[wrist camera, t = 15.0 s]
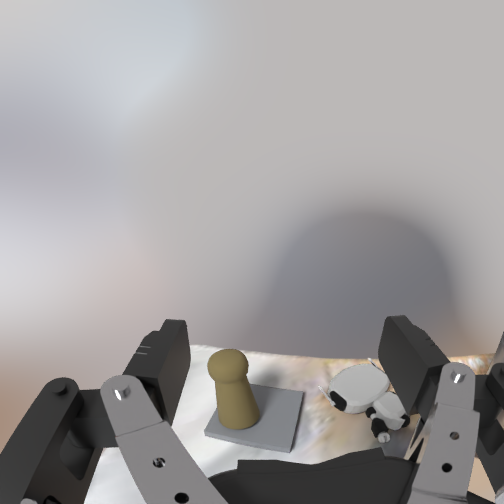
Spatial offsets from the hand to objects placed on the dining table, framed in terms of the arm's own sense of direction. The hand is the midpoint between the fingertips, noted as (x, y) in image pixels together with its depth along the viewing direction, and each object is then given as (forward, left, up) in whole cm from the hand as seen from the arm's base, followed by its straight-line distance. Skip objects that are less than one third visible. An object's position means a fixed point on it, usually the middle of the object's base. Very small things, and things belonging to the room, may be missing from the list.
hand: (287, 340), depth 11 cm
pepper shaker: (+8, -18, -27) cm, 33 cm away
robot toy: (-11, -24, -28) cm, 39 cm away
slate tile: (+6, -20, -28) cm, 35 cm away
